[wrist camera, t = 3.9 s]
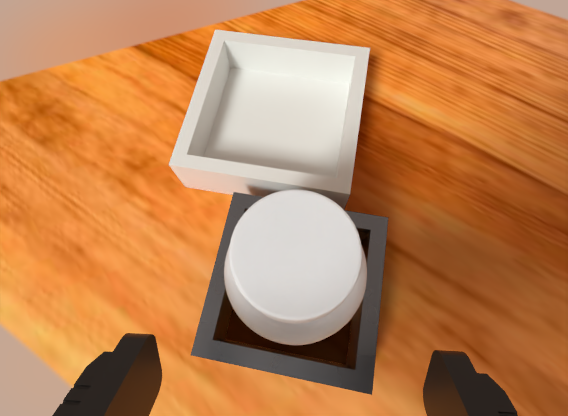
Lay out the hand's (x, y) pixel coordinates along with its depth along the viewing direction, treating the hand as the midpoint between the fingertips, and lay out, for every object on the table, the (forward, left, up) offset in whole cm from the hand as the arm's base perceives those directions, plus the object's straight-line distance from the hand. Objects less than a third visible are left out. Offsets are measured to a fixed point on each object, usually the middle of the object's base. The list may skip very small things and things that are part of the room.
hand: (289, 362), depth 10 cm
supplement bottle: (0, -3, -9) cm, 9 cm away
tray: (+3, -13, -9) cm, 16 cm away
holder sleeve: (0, -3, -9) cm, 9 cm away
